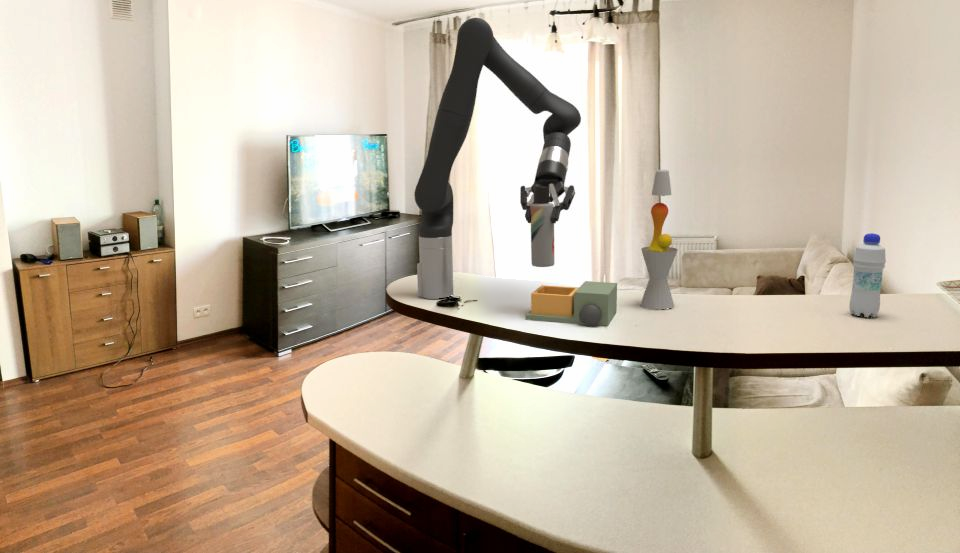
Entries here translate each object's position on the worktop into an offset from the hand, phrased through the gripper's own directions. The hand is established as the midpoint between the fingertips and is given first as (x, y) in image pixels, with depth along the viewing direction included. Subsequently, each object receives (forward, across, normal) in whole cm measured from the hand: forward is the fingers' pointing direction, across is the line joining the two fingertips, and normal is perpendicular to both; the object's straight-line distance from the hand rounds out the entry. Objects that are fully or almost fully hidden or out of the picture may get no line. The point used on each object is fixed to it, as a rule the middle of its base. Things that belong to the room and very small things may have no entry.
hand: (541, 221), depth 158 cm
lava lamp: (+5, +26, +30) cm, 40 cm away
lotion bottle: (+7, 0, +9) cm, 12 cm away
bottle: (+2, +74, +33) cm, 81 cm away
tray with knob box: (+16, +7, +18) cm, 25 cm away
